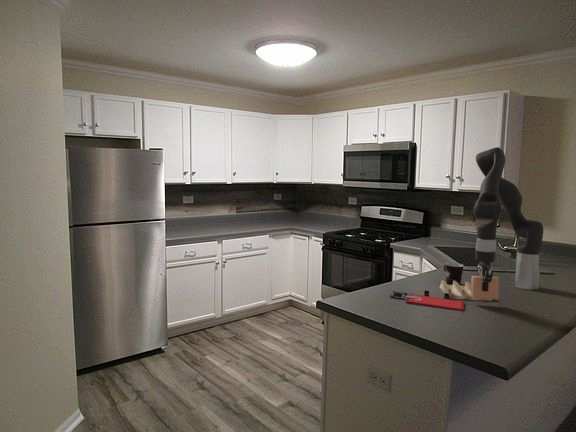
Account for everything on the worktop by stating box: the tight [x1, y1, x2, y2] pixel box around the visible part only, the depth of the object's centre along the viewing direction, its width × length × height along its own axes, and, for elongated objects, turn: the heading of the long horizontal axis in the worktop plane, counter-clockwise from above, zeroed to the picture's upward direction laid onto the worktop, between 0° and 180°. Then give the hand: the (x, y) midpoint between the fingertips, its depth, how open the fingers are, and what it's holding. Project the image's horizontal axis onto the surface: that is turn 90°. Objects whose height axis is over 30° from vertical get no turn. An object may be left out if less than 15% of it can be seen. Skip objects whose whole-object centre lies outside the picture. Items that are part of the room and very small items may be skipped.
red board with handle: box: [389, 290, 465, 312], centre depth 170 cm, size 30×3×15 cm
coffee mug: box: [443, 262, 465, 286], centre depth 198 cm, size 12×9×10 cm
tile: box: [470, 275, 500, 301], centre depth 165 cm, size 10×3×9 cm, turn 81°
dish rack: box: [439, 279, 493, 302], centre depth 181 cm, size 18×18×4 cm
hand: (483, 289), depth 165 cm, fingers closed on tile, 3 cm apart
